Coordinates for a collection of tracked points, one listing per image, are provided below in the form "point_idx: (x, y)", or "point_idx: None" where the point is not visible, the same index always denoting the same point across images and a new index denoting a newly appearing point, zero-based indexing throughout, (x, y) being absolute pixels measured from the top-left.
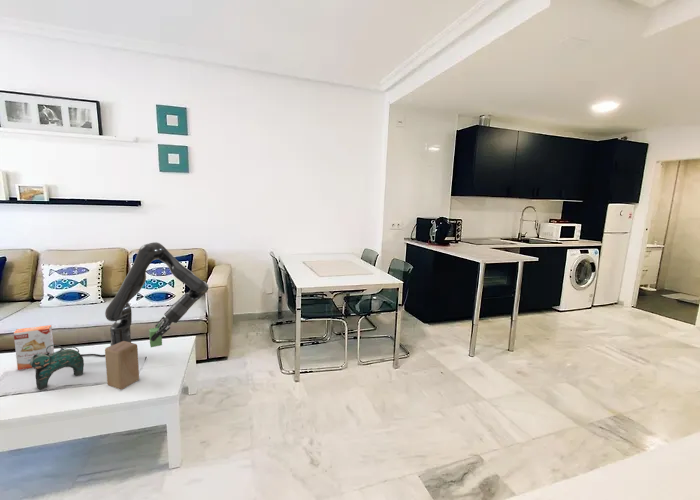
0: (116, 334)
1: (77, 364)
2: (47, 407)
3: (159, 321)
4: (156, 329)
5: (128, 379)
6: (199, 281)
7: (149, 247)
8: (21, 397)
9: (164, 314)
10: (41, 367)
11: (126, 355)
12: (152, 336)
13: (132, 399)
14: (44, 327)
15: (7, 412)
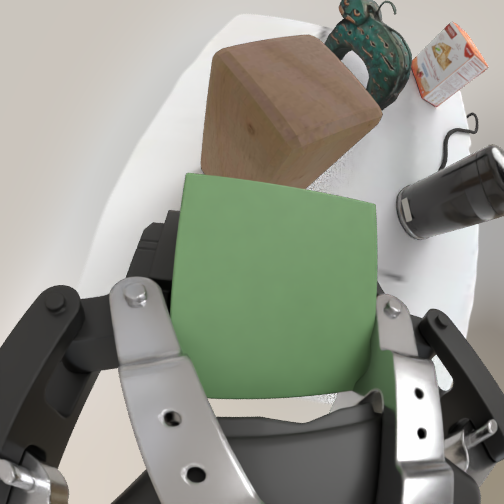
0: (473, 160)
1: (374, 84)
2: (229, 43)
3: (480, 381)
4: (282, 316)
5: None
6: None
7: None
8: (304, 32)
9: None
10: (342, 15)
11: (228, 108)
12: (165, 231)
13: (114, 189)
14: (477, 53)
15: (255, 15)
